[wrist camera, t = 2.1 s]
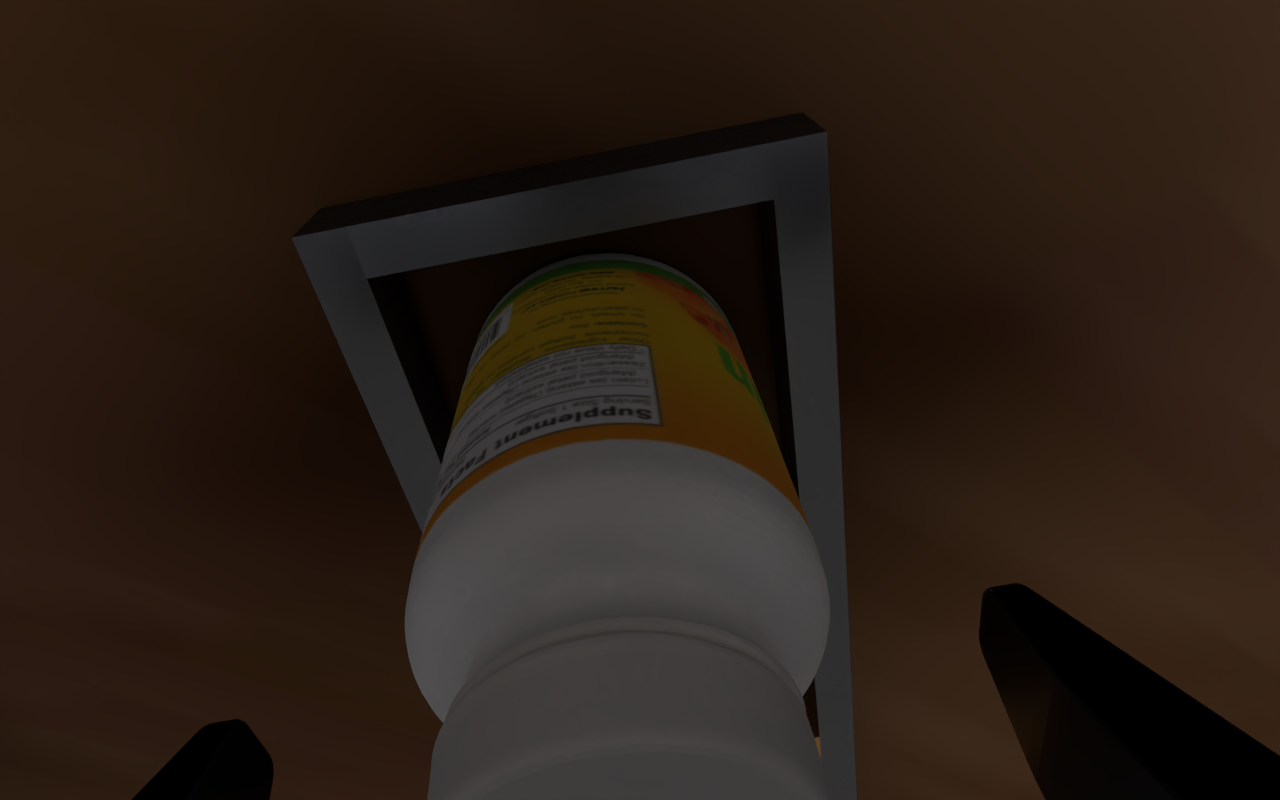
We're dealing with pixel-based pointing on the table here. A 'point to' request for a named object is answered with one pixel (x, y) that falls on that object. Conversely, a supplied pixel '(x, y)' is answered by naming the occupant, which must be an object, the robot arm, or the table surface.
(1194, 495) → the table surface
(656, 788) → the supplement bottle
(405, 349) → the divided tray
